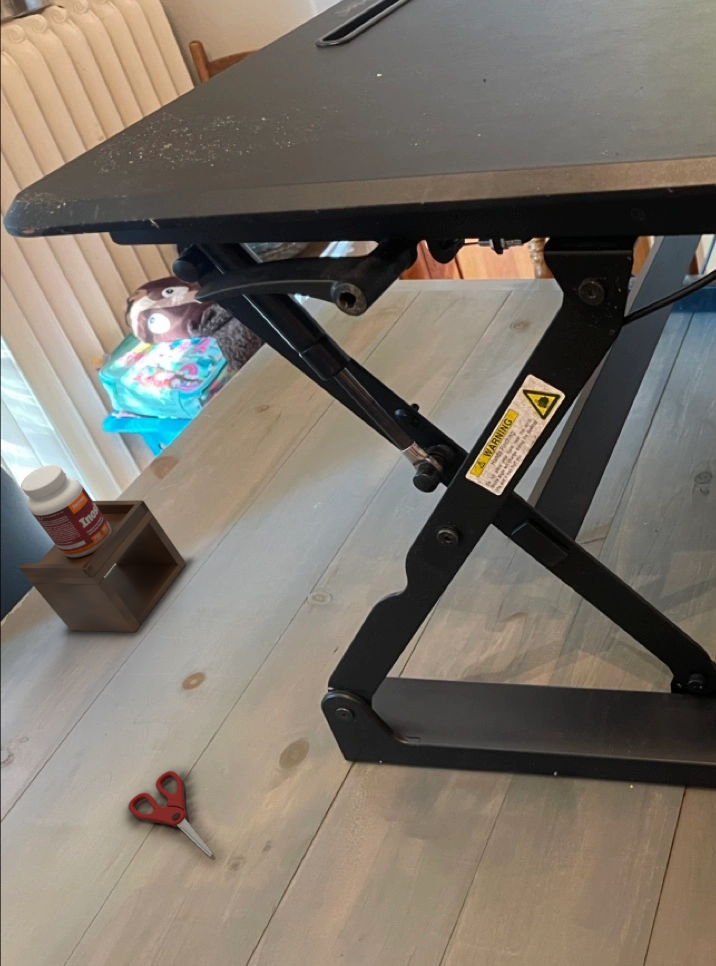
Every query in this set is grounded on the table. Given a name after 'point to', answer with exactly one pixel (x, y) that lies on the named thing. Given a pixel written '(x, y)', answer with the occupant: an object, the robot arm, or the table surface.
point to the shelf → (129, 585)
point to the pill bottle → (65, 511)
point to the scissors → (169, 809)
